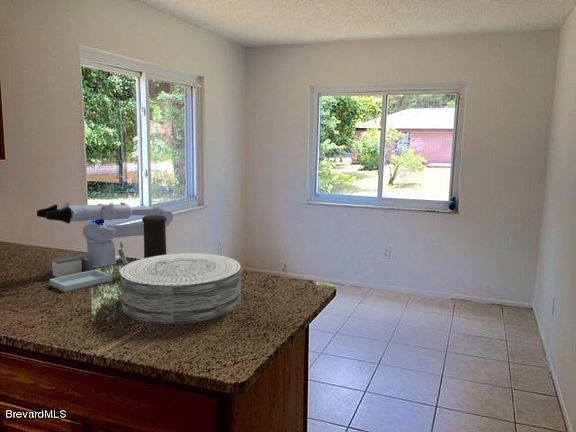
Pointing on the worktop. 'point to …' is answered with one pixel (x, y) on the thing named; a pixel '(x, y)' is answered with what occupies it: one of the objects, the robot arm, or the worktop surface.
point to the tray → (80, 280)
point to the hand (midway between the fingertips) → (41, 214)
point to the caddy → (66, 266)
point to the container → (154, 235)
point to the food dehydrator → (180, 287)
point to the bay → (85, 265)
